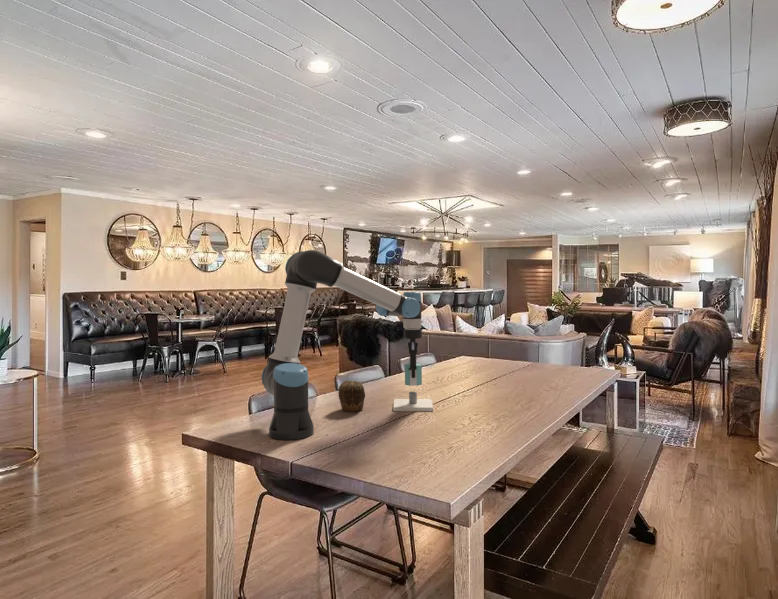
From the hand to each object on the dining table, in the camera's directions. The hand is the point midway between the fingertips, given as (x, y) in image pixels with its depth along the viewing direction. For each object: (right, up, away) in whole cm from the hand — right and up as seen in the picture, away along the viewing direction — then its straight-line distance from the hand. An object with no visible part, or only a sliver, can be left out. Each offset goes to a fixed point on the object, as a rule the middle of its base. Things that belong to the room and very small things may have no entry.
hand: (413, 383), depth 211 cm
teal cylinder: (0, 0, 0) cm, 0 cm away
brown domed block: (-25, -10, -5) cm, 28 cm away
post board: (0, -10, 0) cm, 10 cm away
